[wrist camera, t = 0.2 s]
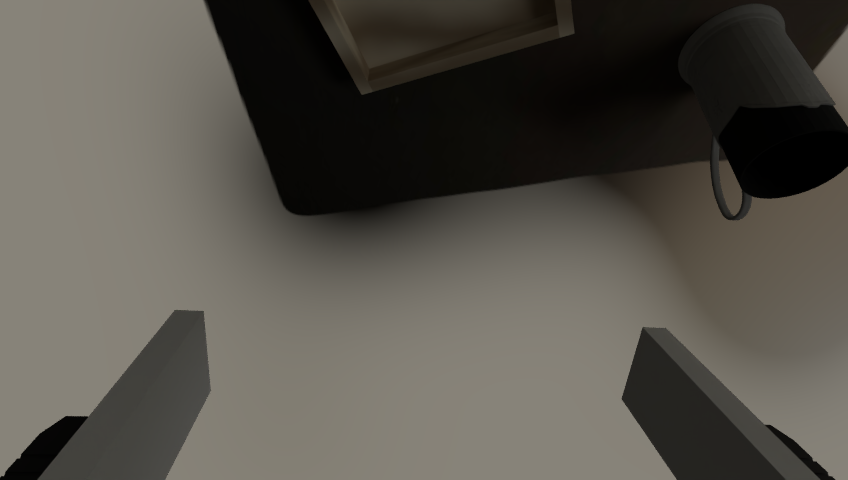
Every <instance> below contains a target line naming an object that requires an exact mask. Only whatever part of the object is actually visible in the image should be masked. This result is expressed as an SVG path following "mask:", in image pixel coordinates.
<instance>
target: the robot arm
mask: <svg viewBox="0 0 848 480" xmlns="http://www.w3.org/2000/svg"><path fill="white" fill-rule="evenodd" d="M207 356H208V355H207V344H206V333H205V322H204V311H186V310H175V311H174V312H173V313H172V314H171V316H170V317H169V318H168V319H167V321H166V322H165V323H164V324H163V326H162V327H161V328H160V329H159V331H158V332H157V333H156V334H155V335H154V337H153V338H152V339H151V340H150V342H149V343H148V344H147V345H146V347H145V348H144V349H143V350H142V351H141V353H140V354H139V355H138V356H137V358H136V359H135V360H134V361H133V363H132V364H131V365H130V366H129V368H128V369H127V370H126V371H125V373H124V374H123V375H122V376H121V377H120V379H119V380H118V381H117V383H115V385H114V386H113V387H112V388H111V390H110V391H109V392H108V394H107V395H106V396H105V397H104V398H103V400H102V401H101V402H100V403H99V404H98V406H97V407H96V408H95V409H94V411H93V412H92V413H91V414H90V416H89V417H87V416H84V417H83V416H65V417H64V418H62V419H61V420H60V421H58V422H57V423H55V424H54V425H52V426H51V427H49V428H48V429H46V430H45V431H43V432H42V433H40V434H39V435H38V436H37V437H36V438H35V440H34V441H33V442H32V443H31V444H30V445H29V446H28V447H27V448H26V450H25V451H24V452H23V453H22V454H21V457H20V459H16V461H15V462H14V463H13V464H12V465H11V466H10V467H9V468H8V470H7V471H6V472H5V475H4V476H1V477H0V480H165V479H166V477H167V475H168V473H169V471H170V469H171V467H172V465H173V463H174V461H175V459H176V457H177V455H178V453H179V451H180V449H181V447H182V446H183V444H184V442H185V440H186V438H187V436H188V433H189V432H190V430H191V428H192V426H193V424H194V422H195V420H196V418H197V416H198V414H199V412H200V410H201V408H202V407H203V405H204V403H205V401H206V399H207V397H208V395H209V393H210V391H211V389H210V379H209V367H208V357H207ZM622 400H623V402H624V403H625V405H626V406H627V407H628V409H629V410H630V412H631V413H632V415H633V416H634V418H635V419H636V421H637V422H638V423H639V425H640V426H641V428H642V429H643V431H644V432H645V434H646V435H647V437H648V438H649V440H650V441H651V443H652V444H653V445H654V447H655V448H656V450H657V451H658V453H659V454H660V456H661V457H662V459H663V460H664V461H665V463H666V464H667V466H668V467H669V468H670V470H671V472H672V473H673V475H674V476H675V477H676V479H677V480H835V479H834V478H833V477H831V476H828V472H827V471H826V470H825V469H824V468H822V467H821V466H820V465H819V464H818V463H817V462H814V461H813V460H812V457H811V456H810V455H809V454H808V453H807V452H806V451H805V450H803V449H802V448H801V447H800V446H799V445H798V444H797V443H796V442H795V441H794V440H793V439H791V438H789V437H788V436H786V435H785V434H783V433H782V432H780V431H779V430H777V429H776V428H774V427H773V426H771V425H764V424H763V423H762V422H761V421H760V420H759V419H758V418H757V417H756V416H755V415H754V414H753V413H752V412H751V411H750V410H749V409H748V408H747V407H746V406H745V405H744V404H743V403H741V401H740V400H739V399H738V398H736V396H735V395H734V394H732V393H731V391H729V390H728V389H727V388H726V387H725V386H724V385H723V384H722V383H721V382H720V381H719V380H718V379H717V378H716V377H715V376H714V375H713V374H712V373H711V372H710V371H709V370H708V369H707V368H706V367H705V366H704V365H703V364H702V363H701V362H700V361H699V360H698V359H697V358H696V357H695V356H694V355H693V354H692V353H691V352H690V351H689V350H688V349H687V348H686V347H685V346H684V345H683V344H681V343H680V342H679V341H678V340H677V339H676V338H675V337H674V336H673V335H672V334H671V333H670V332H669V331H668V330H667V329H666V328H646V327H643V328H642V331H641V335H640V339H639V342H638V345H637V348H636V352H635V355H634V359H633V362H632V365H631V369H630V372H629V376H628V379H627V382H626V386H625V390H624V393H623V396H622Z"/></svg>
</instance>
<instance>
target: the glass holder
mask: <svg viewBox="0 0 848 480" xmlns="http://www.w3.org/2000/svg"><path fill="white" fill-rule="evenodd" d="M678 70H679V73H680V76H681V77H682V79H683V80H684V81H685V82H686V83H688V84H689V85H691V86H692V89H693V91H694V93H695V95H696V97H697V99H698V102H699V104H700V106H701V108H702V110H703V112H704V115H705V117H706V119H707V121H708V123H709V126H710V128H711V130H712V132H713V135H712V145H711V155H710V169H711V179H712V186H713V190H714V195H715V198H716V201H717V204H718V207H719V209H720V211H721V213H722V215H723V216H724V217H725V218H726V219H728V220H740V219H742V218H743V217H745V216H746V214H747V213H748V211H749V209H750V206H751V201H752V196H753V197H757V198H767V199H772V198H781V197H787V196H792V195H796V194H799V193H802V192H805V191H808V190H811V189H813V188H816V187H818V186H820V185H822V184H824V183H826V182H827V181H829V180H831V179H832V178H834V177H835V176H837V175H838V174H839V173H841V172H842V171H843V170H844V169H845V168H846V167H848V127H847V125H846V124H845V122H844V121H843V119H842V118H841V116H840V115H839V114H838V112H837V111H836V109H835V108H834V106H833V105H835V102H834V101H833V100H832V98H831V97H830V95H829V94H828V92H827V91H826V90H825V88H824V87H823V85H822V84H821V83H820V81H819V80H818V78H817V77H816V75H815V74H814V73H813V71H812V70H811V68H810V67H809V66H808V64H807V63H806V61H805V60H804V58H803V57H802V56H801V54H800V53H799V51H798V50H797V49H796V47H795V46H794V44H793V43H792V41H791V40H790V39H789V37H788V36H787V34H786V33H785V23H784V19H783V17H782V16H781V14H780V13H779V12H778V11H777V10H776V9H774V8H772V7H770V6H767V5H763V4H747V5H741V6H738V7H734V8H731V9H728V10H726V11H724V12H721V13H720V14H718V15H716V16H714V17H712V18H711V19H709V20H708V21H707V22H705V23H704V24H703V25H701V26H700V27H699V28H698V29H697V30H696V31H695V32H694V33H693V34H692V35H691V36H690V37H689V39H688V40H687V42H686V43H685V44H684V46H683V48H682V50H681V53H680V56H679V59H678ZM719 146H720V147H721V148H722V149H723V150H724V152H725V154H726V157H727V159H728V161H729V163H730V165H731V167H732V169H733V172H734V174H735V176H736V178H737V180H738V182H739V185H740V187H741V189H742V204H741V208H740V211H739V212H738V213H737V214H736V215H735V216H733V215H732V214H731V213H730V211H729V209H728V208H727V205H726V202H725V199H724V197H723V193H722V189H721V184H720V177H719V163H718V161H719Z"/></svg>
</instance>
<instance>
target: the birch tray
mask: <svg viewBox="0 0 848 480" xmlns="http://www.w3.org/2000/svg"><path fill="white" fill-rule="evenodd" d="M309 2H310V4H311V6H312V8H313V9H314V11H315V13H316V15H317V16H318V18H319V20H320V22H321V24H322V25H323V27H324V29H325V31H326V32H327V34H328V36H329V38H330V39H331V41H332V43H333V45H334V47H335V48H336V50H337V52H338V54H339V55H340V57H341V59H342V61H343V63H344V64H345V66H346V68H347V70H348V71H349V73H350V75H351V77H352V78H353V80H354V82H355V84H356V86H357V87H358V89H359V91H360V93H361V94H362V95H363V94H367V93H370V92H373V91H377V90H380V89H384V88H387V87H391V86H394V85H398V84H401V83H405V82H408V81H412V80H415V79H418V78H422V77H425V76H429V75H432V74H436V73H439V72H443V71H446V70H450V69H453V68H456V67H460V66H463V65H467V64H470V63H474V62H477V61H481V60H484V59H488V58H491V57H495V56H498V55H501V54H505V53H508V52H512V51H515V50H519V49H522V48H526V47H529V46H533V45H536V44H539V43H543V42H546V41H550V40H553V39H557V38H560V37H564V36H567V35H571V34H574V26H573V17H572V8H571V0H309Z"/></svg>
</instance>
